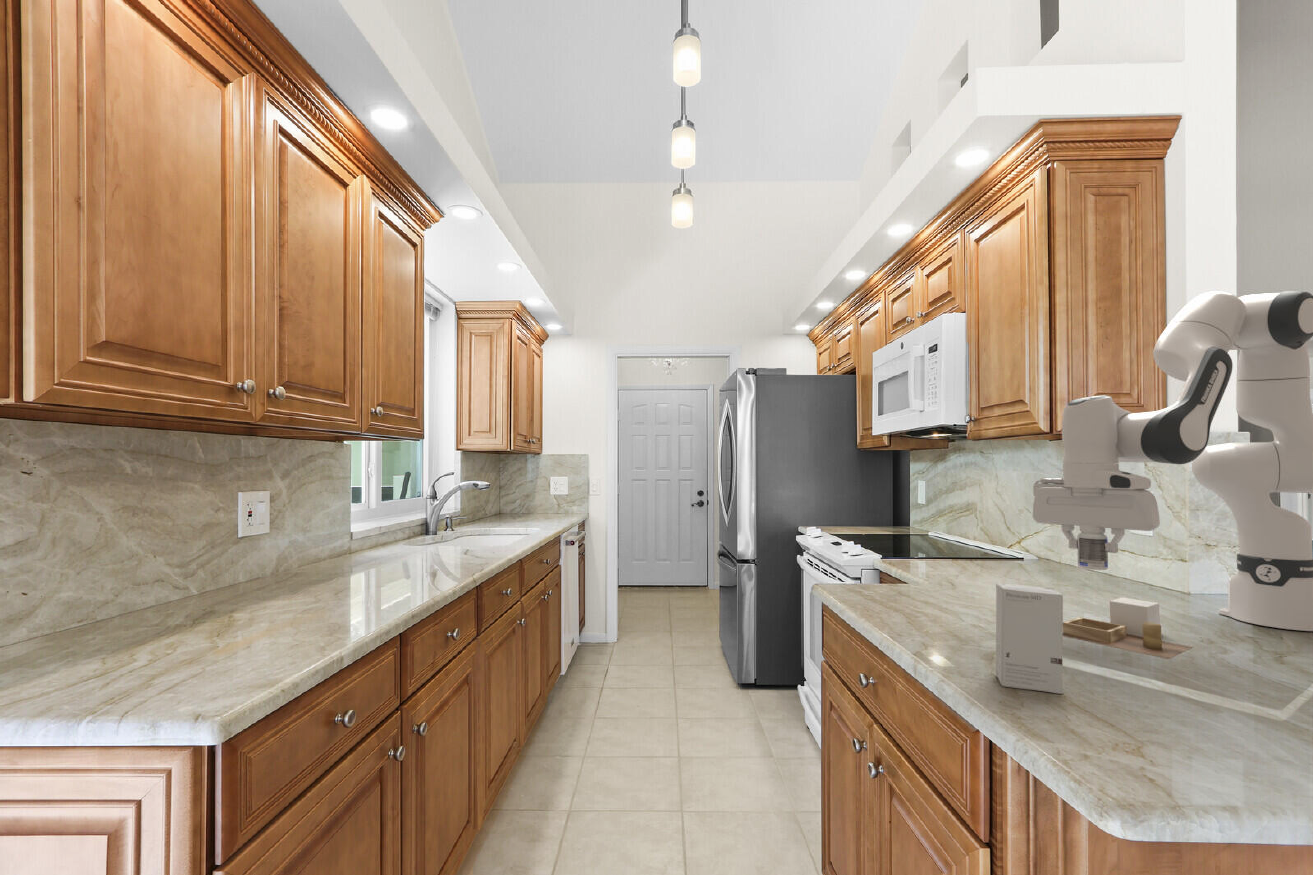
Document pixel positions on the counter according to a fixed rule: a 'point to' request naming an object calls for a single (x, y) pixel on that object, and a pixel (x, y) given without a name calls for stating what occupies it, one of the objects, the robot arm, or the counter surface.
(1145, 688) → the counter surface
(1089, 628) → the board
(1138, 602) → the block
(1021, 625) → the skincare box
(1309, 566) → the robot arm
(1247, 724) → the counter surface
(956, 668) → the counter surface
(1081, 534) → the pill bottle
